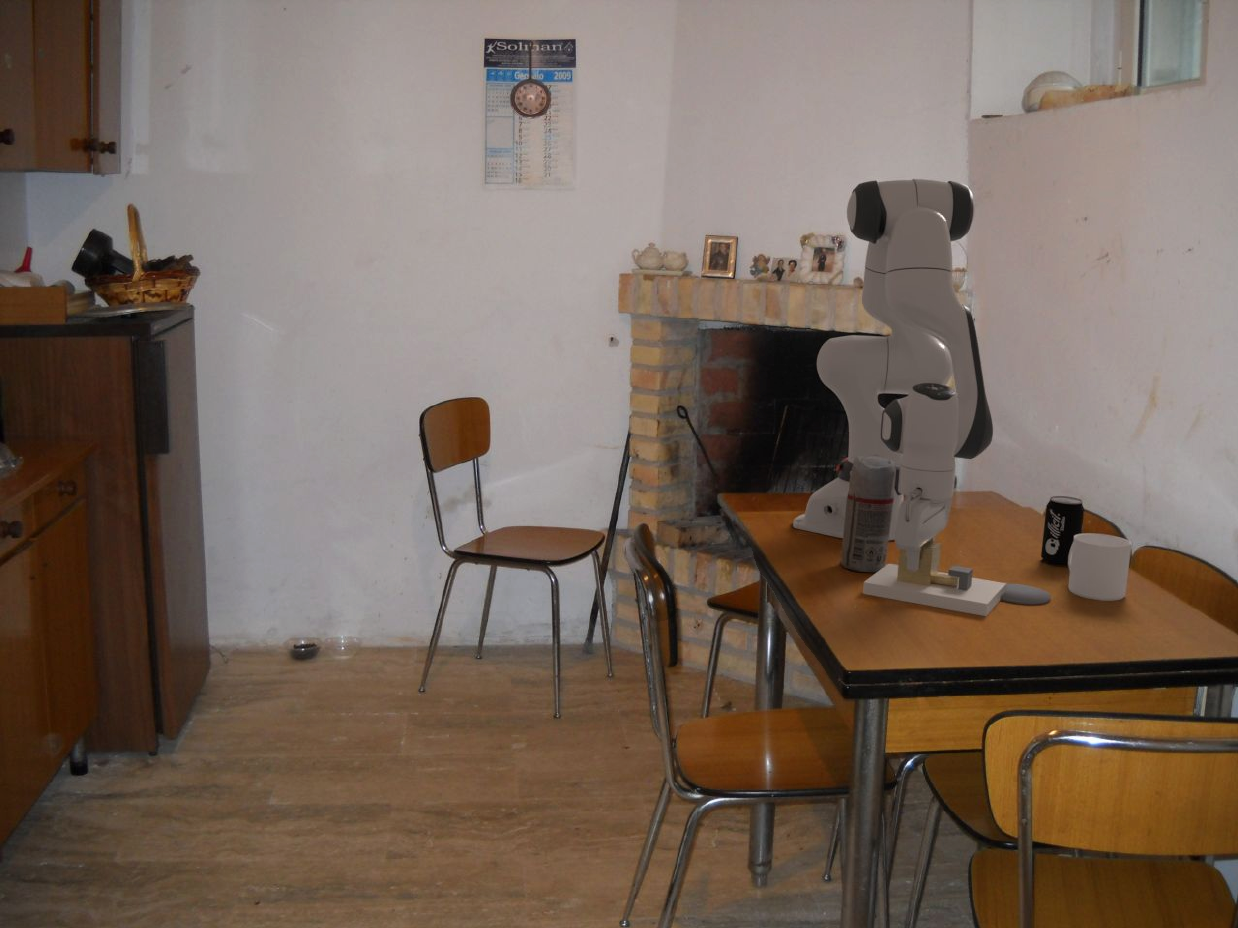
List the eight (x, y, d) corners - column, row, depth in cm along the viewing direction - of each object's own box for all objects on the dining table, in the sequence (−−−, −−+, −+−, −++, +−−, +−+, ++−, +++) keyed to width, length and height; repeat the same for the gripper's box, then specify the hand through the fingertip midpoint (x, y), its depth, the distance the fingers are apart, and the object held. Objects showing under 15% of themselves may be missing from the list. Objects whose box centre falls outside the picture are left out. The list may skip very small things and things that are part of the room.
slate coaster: (981, 597, 199) (981, 593, 198) (994, 583, 207) (995, 579, 207) (1044, 608, 194) (1044, 604, 194) (1055, 593, 202) (1055, 590, 202)
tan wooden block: (897, 580, 199) (900, 544, 198) (906, 573, 204) (909, 538, 203) (953, 590, 195) (956, 554, 194) (961, 582, 200) (964, 547, 198)
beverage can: (1080, 568, 219) (1088, 504, 217) (1043, 565, 220) (1050, 501, 218) (1074, 559, 225) (1082, 496, 223) (1038, 556, 227) (1045, 494, 224)
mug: (1135, 601, 200) (1142, 547, 198) (1084, 601, 199) (1090, 546, 197) (1099, 580, 212) (1105, 529, 210) (1050, 580, 211) (1056, 528, 209)
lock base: (862, 593, 198) (866, 552, 197) (887, 574, 210) (891, 535, 209) (986, 616, 189) (990, 573, 187) (1005, 594, 201) (1009, 554, 199)
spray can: (890, 564, 217) (899, 455, 213) (885, 576, 209) (894, 463, 205) (843, 558, 219) (851, 451, 215) (836, 570, 212) (844, 458, 208)
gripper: (928, 497, 187) (921, 582, 189) (960, 476, 204) (952, 554, 207) (888, 491, 190) (881, 576, 192) (923, 471, 207) (916, 549, 210)
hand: (918, 564), depth 200 cm, fingers closed on tan wooden block, 5 cm apart
